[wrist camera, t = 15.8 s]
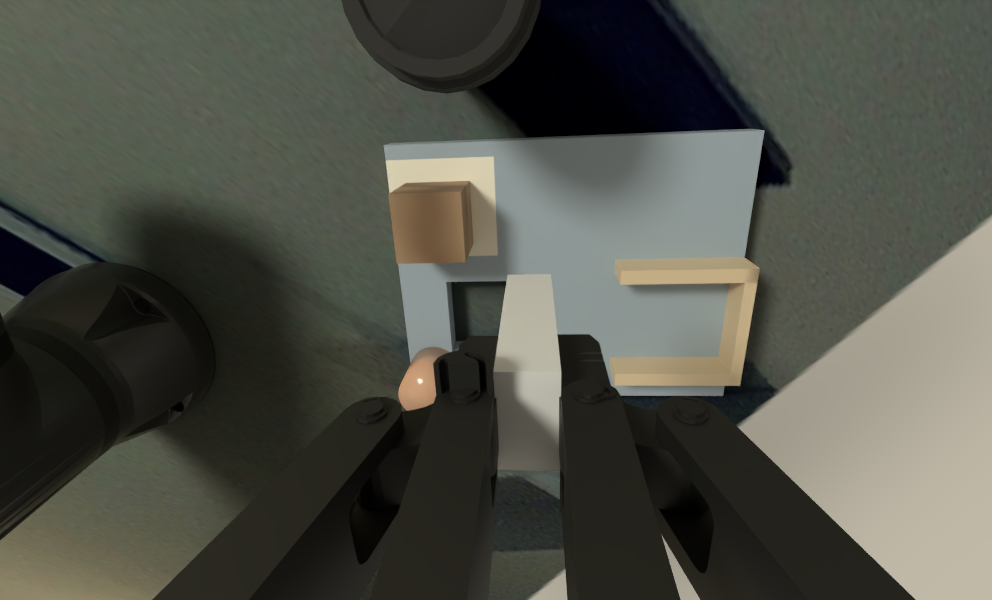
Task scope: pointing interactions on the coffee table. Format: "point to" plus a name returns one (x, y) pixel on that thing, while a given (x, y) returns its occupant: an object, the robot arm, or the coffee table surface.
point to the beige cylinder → (420, 379)
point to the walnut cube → (432, 222)
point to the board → (605, 245)
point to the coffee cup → (443, 38)
